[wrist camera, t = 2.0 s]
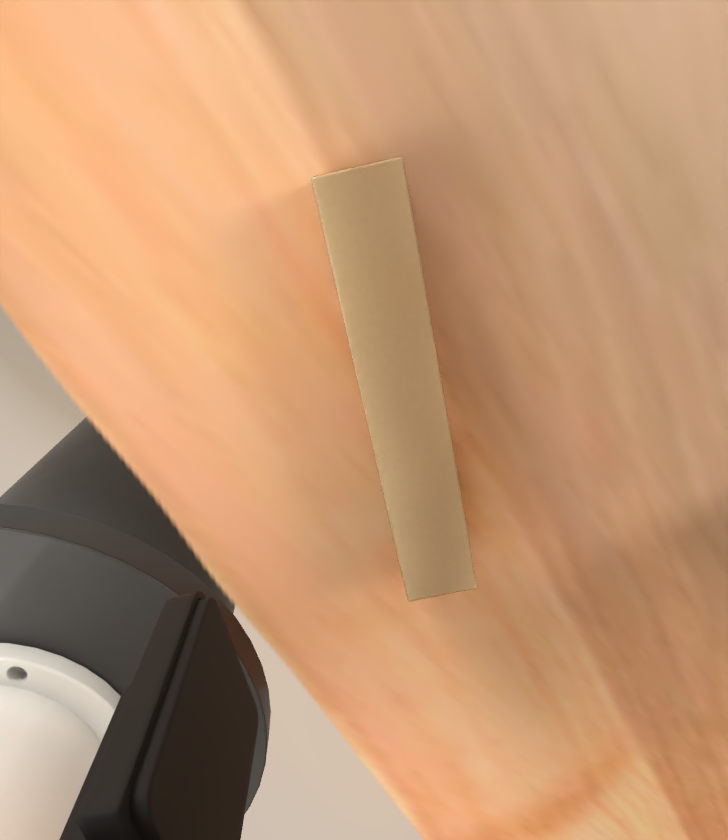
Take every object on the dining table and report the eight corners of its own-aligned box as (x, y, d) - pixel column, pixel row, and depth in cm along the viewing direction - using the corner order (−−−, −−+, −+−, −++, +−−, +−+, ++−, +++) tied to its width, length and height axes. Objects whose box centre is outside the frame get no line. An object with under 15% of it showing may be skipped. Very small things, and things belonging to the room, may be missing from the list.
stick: (400, 558, 27) (408, 602, 24) (314, 178, 21) (310, 177, 18) (463, 546, 26) (477, 588, 24) (394, 159, 21) (403, 156, 18)
